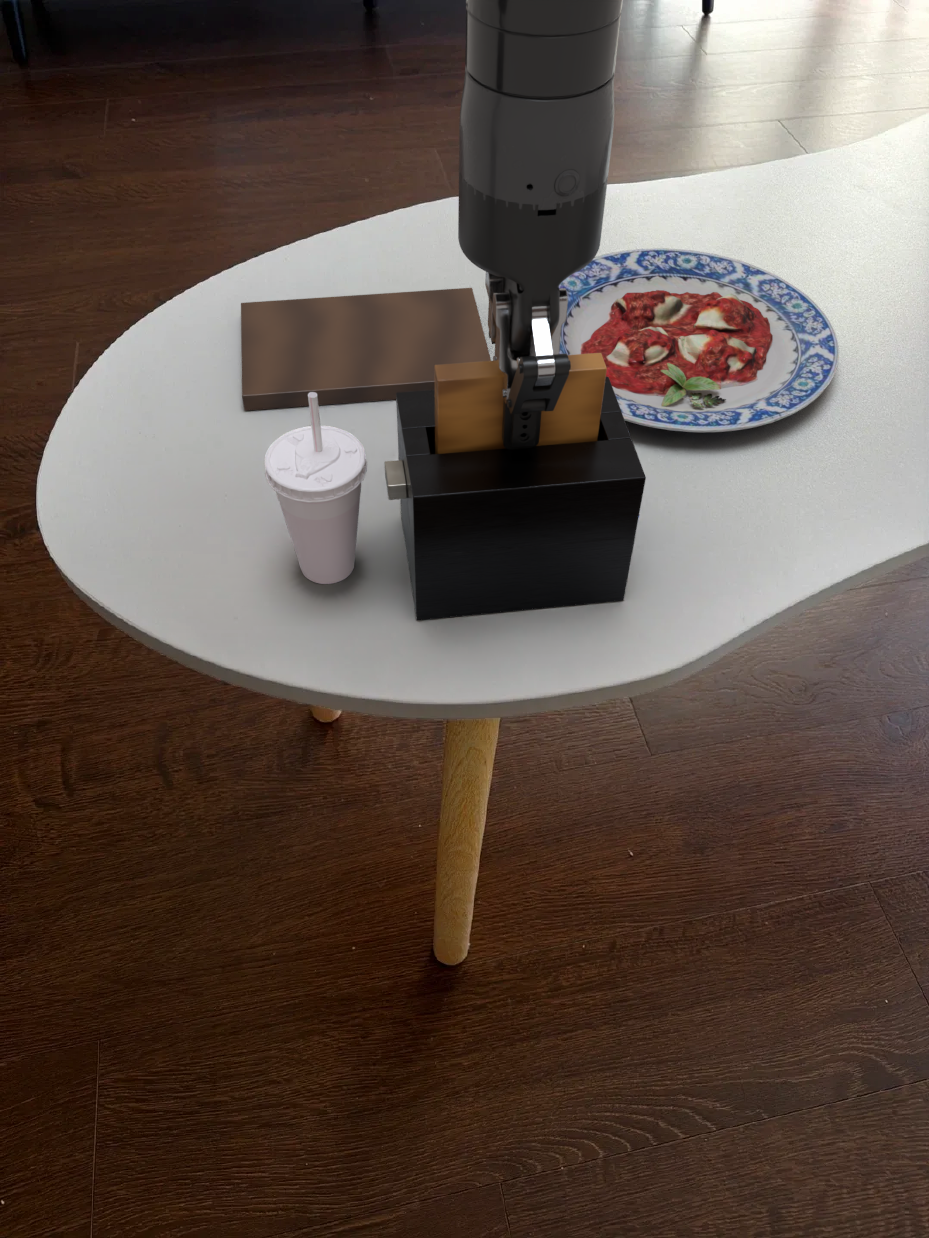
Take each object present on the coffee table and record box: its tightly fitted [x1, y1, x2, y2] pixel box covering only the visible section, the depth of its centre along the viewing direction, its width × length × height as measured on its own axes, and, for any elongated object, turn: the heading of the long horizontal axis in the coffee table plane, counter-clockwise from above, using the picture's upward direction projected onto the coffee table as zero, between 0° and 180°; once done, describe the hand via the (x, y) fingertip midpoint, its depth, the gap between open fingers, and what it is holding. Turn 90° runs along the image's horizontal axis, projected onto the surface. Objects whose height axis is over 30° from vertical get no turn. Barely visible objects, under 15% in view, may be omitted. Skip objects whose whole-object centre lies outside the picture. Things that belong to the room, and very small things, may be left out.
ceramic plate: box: [559, 247, 840, 433], centre depth 91 cm, size 26×26×3 cm
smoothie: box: [264, 392, 368, 585], centre depth 70 cm, size 6×6×14 cm
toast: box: [434, 353, 607, 454], centre depth 68 cm, size 10×2×10 cm, turn 98°
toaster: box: [383, 377, 647, 622], centre depth 72 cm, size 15×10×11 cm, turn 98°
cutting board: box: [240, 287, 492, 412], centre depth 91 cm, size 20×13×2 cm, turn 98°
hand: (516, 432), depth 68 cm, fingers closed on toast
